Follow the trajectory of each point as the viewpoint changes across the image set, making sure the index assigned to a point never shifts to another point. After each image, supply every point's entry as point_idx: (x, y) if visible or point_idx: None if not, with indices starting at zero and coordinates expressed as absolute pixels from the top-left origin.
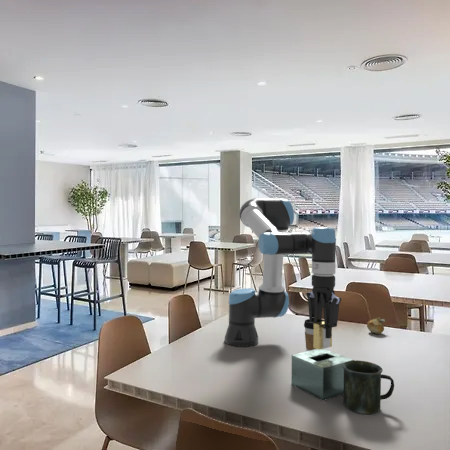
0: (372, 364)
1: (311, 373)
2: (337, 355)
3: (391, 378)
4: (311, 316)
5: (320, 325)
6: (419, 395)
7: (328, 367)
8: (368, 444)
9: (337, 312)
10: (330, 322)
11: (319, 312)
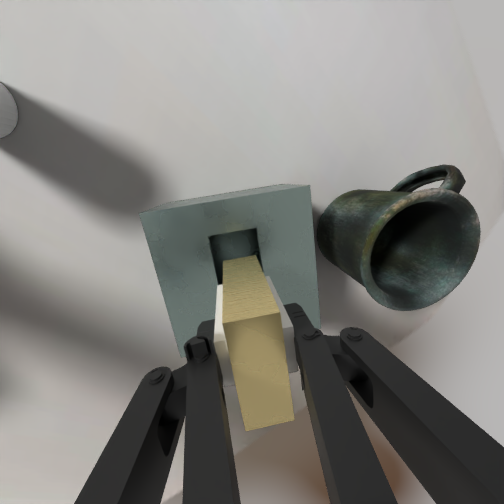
0: (424, 198)
1: None
2: (246, 212)
3: (463, 178)
4: (172, 450)
5: (291, 404)
6: (386, 22)
7: (318, 307)
8: (438, 306)
9: (475, 437)
10: (370, 399)
11: (231, 465)
